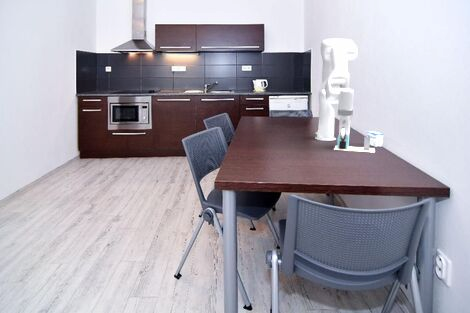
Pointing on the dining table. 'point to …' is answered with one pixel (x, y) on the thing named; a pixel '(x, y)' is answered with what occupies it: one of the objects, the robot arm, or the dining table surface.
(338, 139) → the pale aqua block
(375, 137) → the medicine box
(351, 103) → the robot arm
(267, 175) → the dining table surface
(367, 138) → the post
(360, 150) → the base board
